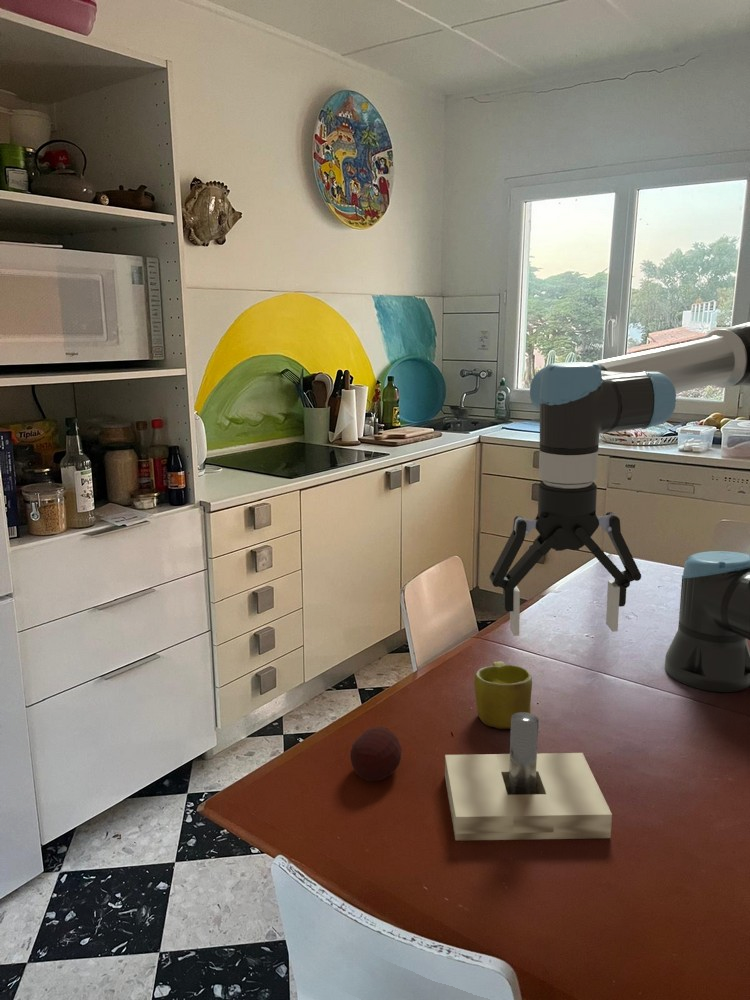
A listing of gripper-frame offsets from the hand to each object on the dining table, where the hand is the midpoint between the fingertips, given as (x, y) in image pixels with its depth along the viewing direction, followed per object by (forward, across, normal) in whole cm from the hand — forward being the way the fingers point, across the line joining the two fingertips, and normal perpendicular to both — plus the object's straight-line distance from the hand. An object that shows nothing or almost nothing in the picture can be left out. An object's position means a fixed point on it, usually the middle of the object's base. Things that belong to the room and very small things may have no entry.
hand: (563, 629), depth 107 cm
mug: (+23, +5, -18) cm, 30 cm away
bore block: (+23, +7, +7) cm, 25 cm away
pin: (+22, +7, +7) cm, 24 cm away
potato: (+22, +27, -2) cm, 35 cm away
